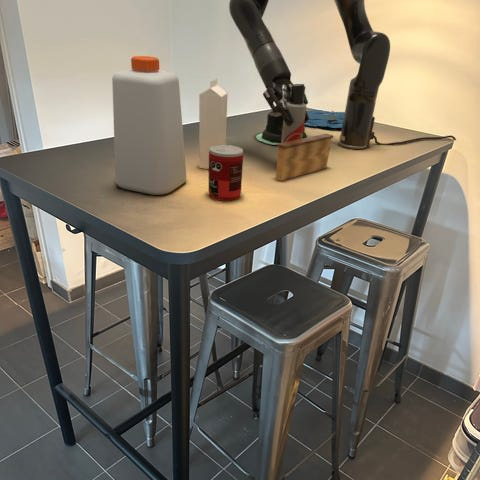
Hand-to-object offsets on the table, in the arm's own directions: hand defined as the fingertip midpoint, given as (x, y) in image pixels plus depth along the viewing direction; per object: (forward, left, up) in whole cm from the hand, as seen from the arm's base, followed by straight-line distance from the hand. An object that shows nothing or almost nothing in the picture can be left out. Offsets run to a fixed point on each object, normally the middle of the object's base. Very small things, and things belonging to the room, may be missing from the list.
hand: (298, 122), depth 124 cm
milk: (+22, -9, -13) cm, 27 cm away
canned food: (+27, +13, -13) cm, 32 cm away
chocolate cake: (-14, -31, -13) cm, 36 cm away
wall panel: (-1, +3, -13) cm, 13 cm away
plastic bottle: (+42, +1, -13) cm, 44 cm away
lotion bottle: (+1, -2, -11) cm, 11 cm away
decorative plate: (-43, -52, -13) cm, 69 cm away
